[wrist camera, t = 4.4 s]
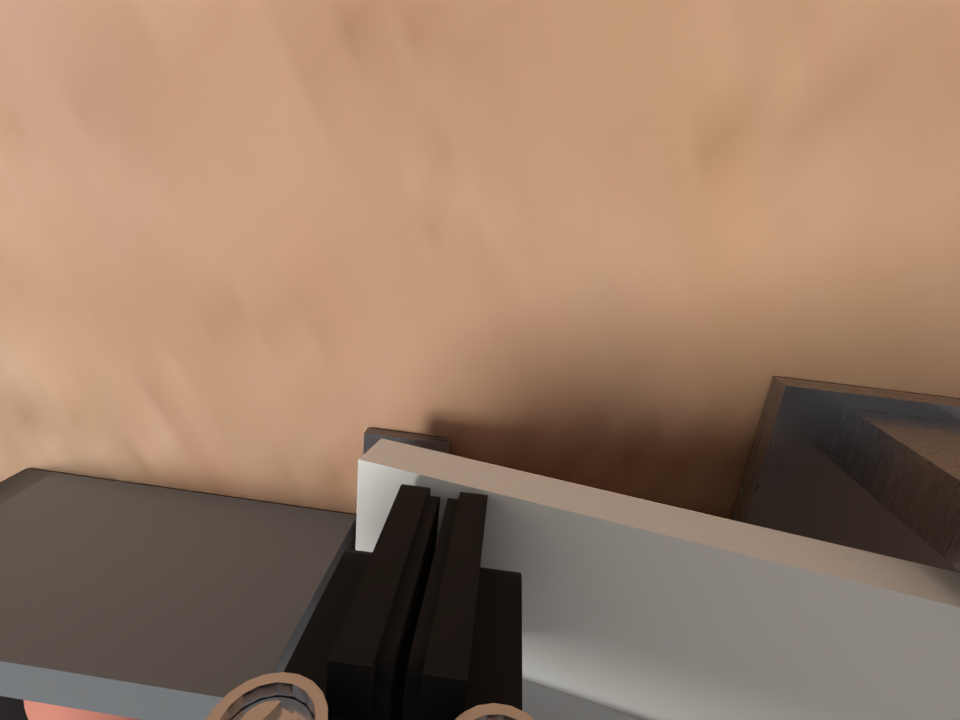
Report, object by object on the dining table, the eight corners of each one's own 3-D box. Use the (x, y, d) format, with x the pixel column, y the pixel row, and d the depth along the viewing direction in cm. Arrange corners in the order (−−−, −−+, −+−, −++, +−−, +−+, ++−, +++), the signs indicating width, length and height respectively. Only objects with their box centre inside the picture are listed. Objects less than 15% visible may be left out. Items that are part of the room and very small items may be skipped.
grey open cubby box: (357, 515, 13) (255, 702, 8) (350, 741, 16) (267, 990, 11) (26, 468, 14) (-256, 618, 9) (68, 694, 16) (-134, 912, 11)
